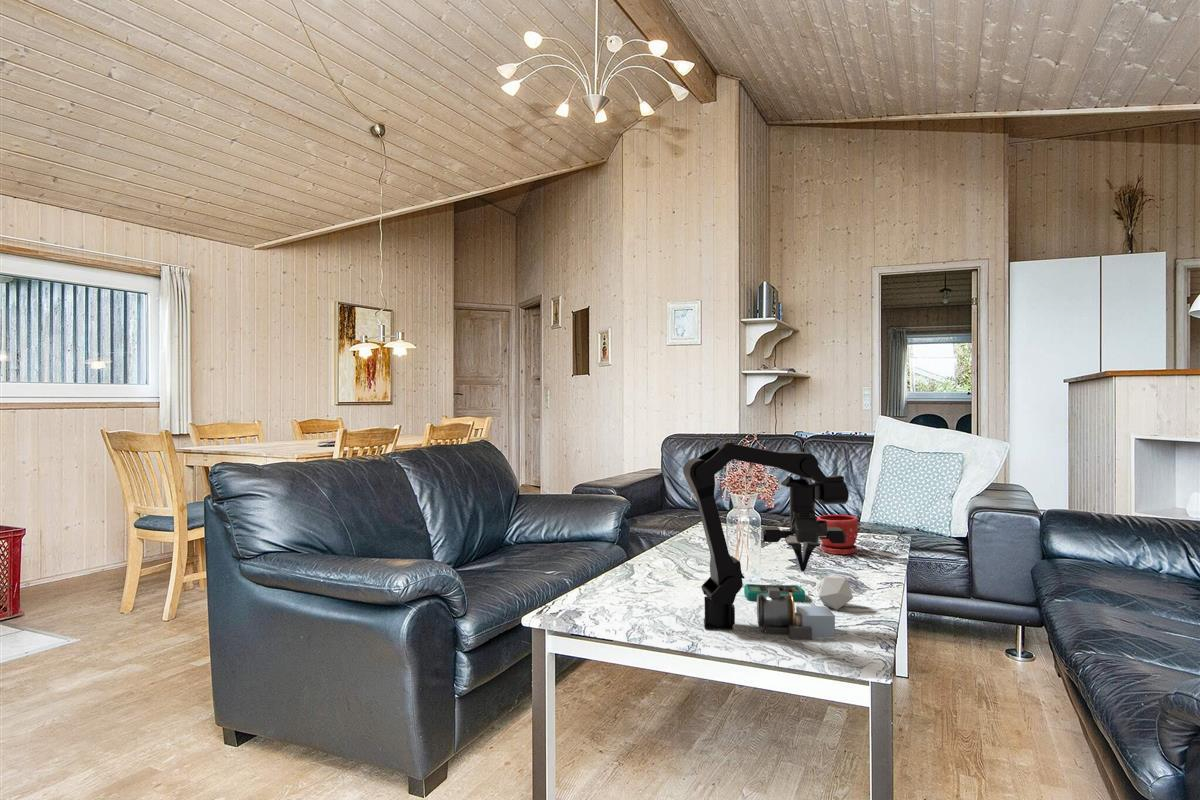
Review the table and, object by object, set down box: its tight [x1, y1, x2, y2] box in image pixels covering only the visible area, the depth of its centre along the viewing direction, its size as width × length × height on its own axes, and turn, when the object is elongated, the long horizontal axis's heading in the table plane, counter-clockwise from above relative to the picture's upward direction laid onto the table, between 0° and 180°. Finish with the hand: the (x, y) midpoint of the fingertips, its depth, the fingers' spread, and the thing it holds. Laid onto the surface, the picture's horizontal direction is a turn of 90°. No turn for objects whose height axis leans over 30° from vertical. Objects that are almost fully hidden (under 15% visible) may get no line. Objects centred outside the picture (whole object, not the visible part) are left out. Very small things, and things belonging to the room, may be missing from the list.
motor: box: [756, 587, 796, 636], centre depth 159 cm, size 8×8×9 cm
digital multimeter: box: [743, 583, 806, 603], centre depth 186 cm, size 8×15×3 cm, turn 85°
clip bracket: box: [788, 612, 813, 641], centre depth 159 cm, size 5×11×2 cm, turn 173°
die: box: [816, 573, 854, 611], centre depth 177 cm, size 8×9×10 cm
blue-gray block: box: [795, 605, 836, 638], centre depth 158 cm, size 8×7×5 cm
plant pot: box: [816, 514, 859, 555], centre depth 238 cm, size 13×13×12 cm
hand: (802, 570), depth 165 cm, fingers closed
